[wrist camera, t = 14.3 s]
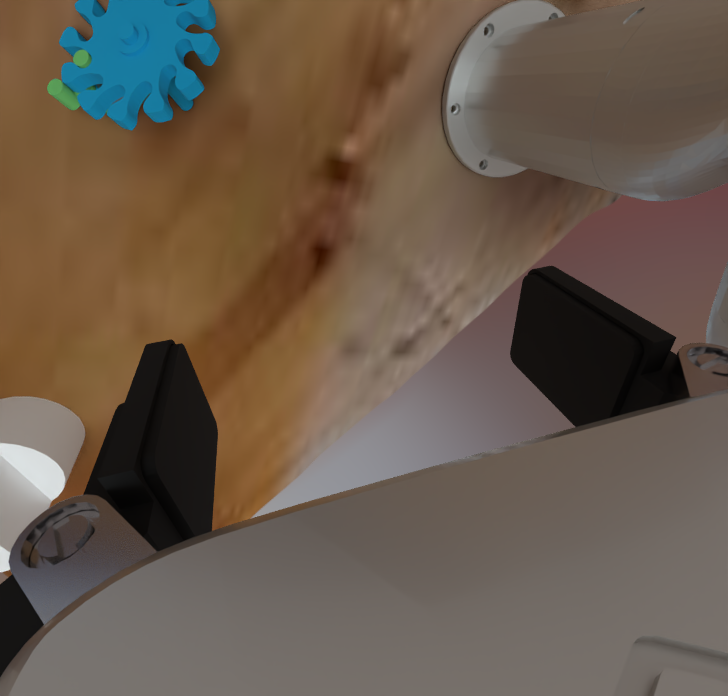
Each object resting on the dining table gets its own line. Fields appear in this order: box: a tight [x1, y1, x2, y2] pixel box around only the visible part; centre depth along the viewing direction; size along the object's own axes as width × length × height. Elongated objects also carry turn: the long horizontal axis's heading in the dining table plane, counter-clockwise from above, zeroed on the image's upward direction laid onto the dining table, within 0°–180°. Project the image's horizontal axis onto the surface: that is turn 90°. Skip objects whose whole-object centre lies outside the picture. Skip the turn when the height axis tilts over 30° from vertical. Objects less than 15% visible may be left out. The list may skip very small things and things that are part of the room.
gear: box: [47, 0, 220, 130], centre depth 25 cm, size 11×6×10 cm
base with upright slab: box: [0, 397, 85, 572], centre depth 34 cm, size 9×9×12 cm
